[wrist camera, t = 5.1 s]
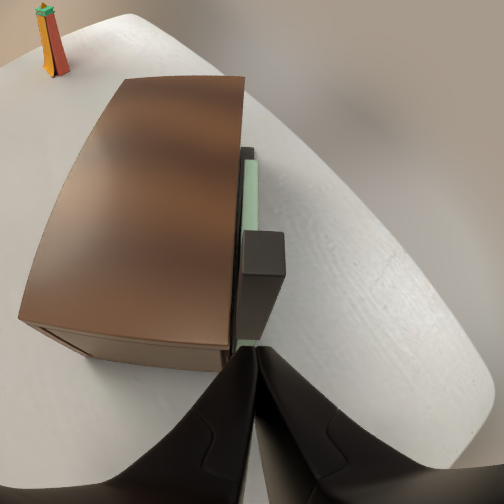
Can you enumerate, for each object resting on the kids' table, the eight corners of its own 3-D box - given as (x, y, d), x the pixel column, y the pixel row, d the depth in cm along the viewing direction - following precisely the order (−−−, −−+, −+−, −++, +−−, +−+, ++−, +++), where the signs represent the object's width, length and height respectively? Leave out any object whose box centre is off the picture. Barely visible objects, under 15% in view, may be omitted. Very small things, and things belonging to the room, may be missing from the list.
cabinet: (249, 373, 18) (263, 347, 11) (83, 356, 18) (16, 318, 11) (253, 149, 28) (261, 77, 21) (139, 147, 28) (124, 78, 21)
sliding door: (248, 366, 18) (286, 276, 7) (232, 365, 18) (240, 274, 7) (251, 228, 23) (272, 66, 12) (238, 227, 23) (250, 65, 12)
